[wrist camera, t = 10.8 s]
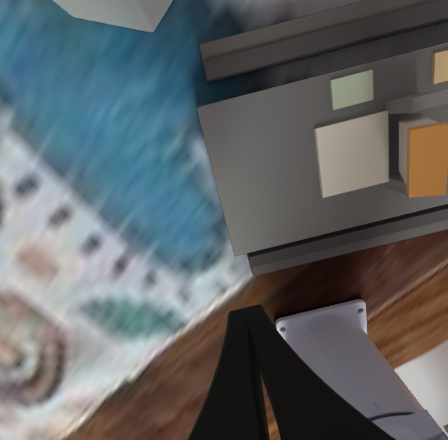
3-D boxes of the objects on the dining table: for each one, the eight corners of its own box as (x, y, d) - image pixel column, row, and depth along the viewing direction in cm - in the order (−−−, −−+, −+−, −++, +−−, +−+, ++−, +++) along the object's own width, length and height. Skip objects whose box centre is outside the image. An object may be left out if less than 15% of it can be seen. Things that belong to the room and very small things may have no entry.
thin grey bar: (518, 201, 21) (542, 207, 19) (250, 267, 21) (253, 277, 20) (521, 179, 20) (547, 183, 18) (245, 247, 20) (249, 257, 19)
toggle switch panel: (590, 155, 20) (687, 162, 16) (232, 244, 20) (238, 273, 16) (633, -4, 16) (770, -46, 12) (197, 109, 17) (194, 104, 13)
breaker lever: (421, 168, 16) (445, 197, 12) (395, 171, 17) (409, 199, 13) (424, 111, 15) (451, 120, 11) (395, 116, 16) (410, 128, 11)
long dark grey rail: (554, -8, 16) (591, -22, 14) (207, 83, 16) (207, 79, 15) (561, -45, 15) (600, -63, 14) (199, 51, 16) (199, 43, 14)
